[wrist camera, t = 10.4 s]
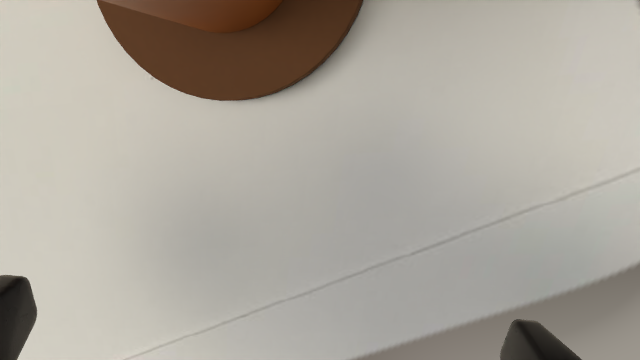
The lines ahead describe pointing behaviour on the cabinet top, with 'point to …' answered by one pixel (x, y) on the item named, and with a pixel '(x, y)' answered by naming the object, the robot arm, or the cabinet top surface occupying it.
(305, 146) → the cabinet top surface
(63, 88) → the cabinet top surface
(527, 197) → the cabinet top surface
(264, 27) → the coaster
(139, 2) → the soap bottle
